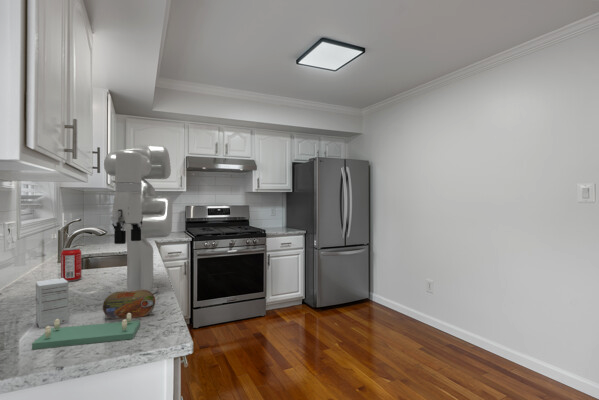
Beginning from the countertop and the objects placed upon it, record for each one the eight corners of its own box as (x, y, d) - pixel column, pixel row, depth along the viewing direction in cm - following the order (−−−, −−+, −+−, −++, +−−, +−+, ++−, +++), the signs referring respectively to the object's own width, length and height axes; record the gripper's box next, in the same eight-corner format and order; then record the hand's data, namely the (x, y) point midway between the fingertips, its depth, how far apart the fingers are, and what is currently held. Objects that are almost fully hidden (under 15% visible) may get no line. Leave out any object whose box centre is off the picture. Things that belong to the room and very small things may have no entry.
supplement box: (35, 322, 101) (35, 281, 101) (64, 316, 106) (64, 277, 106) (38, 329, 96) (38, 285, 96) (69, 322, 101) (68, 281, 101)
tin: (102, 320, 102) (102, 293, 102) (105, 317, 105) (105, 291, 105) (154, 316, 106) (154, 290, 106) (156, 312, 109) (156, 287, 109)
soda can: (65, 283, 147) (65, 250, 147) (57, 281, 151) (57, 248, 151) (84, 279, 154) (84, 247, 154) (76, 277, 158) (76, 246, 158)
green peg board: (50, 333, 92) (50, 317, 92) (139, 325, 98) (139, 309, 98) (32, 349, 82) (32, 330, 82) (132, 338, 89) (132, 321, 89)
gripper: (130, 191, 115) (130, 240, 114) (100, 187, 98) (100, 245, 97) (152, 190, 115) (152, 239, 114) (126, 187, 98) (125, 244, 97)
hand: (128, 242), depth 106 cm, fingers open, 9 cm apart
